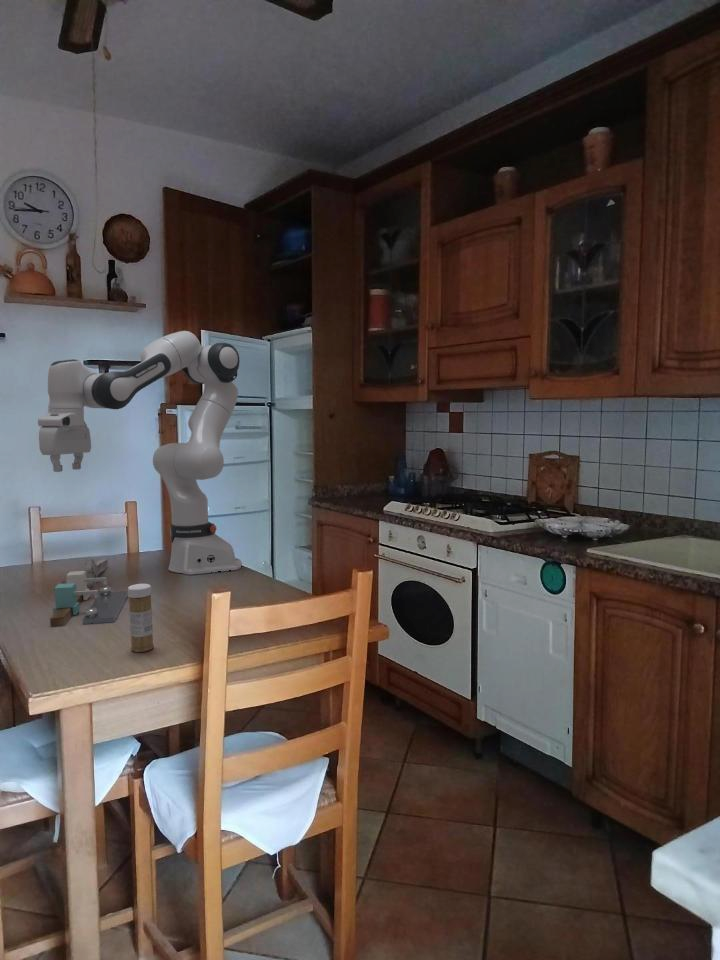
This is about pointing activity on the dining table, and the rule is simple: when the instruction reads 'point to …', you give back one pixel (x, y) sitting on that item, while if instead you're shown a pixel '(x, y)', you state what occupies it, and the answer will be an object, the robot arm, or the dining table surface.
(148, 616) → the sprinkles bottle
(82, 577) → the fixed leg
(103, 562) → the wrench
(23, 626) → the dining table surface
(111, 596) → the bolt plate
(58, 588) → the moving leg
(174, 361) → the robot arm
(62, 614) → the rail
